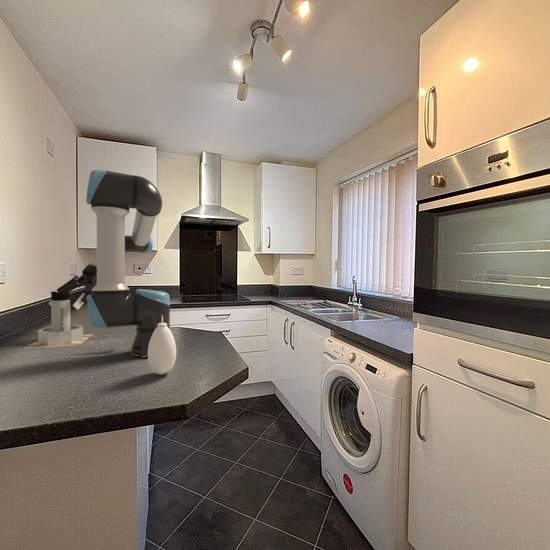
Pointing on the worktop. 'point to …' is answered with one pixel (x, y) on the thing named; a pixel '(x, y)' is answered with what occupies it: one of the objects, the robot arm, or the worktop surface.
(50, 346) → the birch board
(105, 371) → the worktop surface
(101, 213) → the robot arm
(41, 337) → the collar
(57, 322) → the travel mug
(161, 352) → the sauce bottle
